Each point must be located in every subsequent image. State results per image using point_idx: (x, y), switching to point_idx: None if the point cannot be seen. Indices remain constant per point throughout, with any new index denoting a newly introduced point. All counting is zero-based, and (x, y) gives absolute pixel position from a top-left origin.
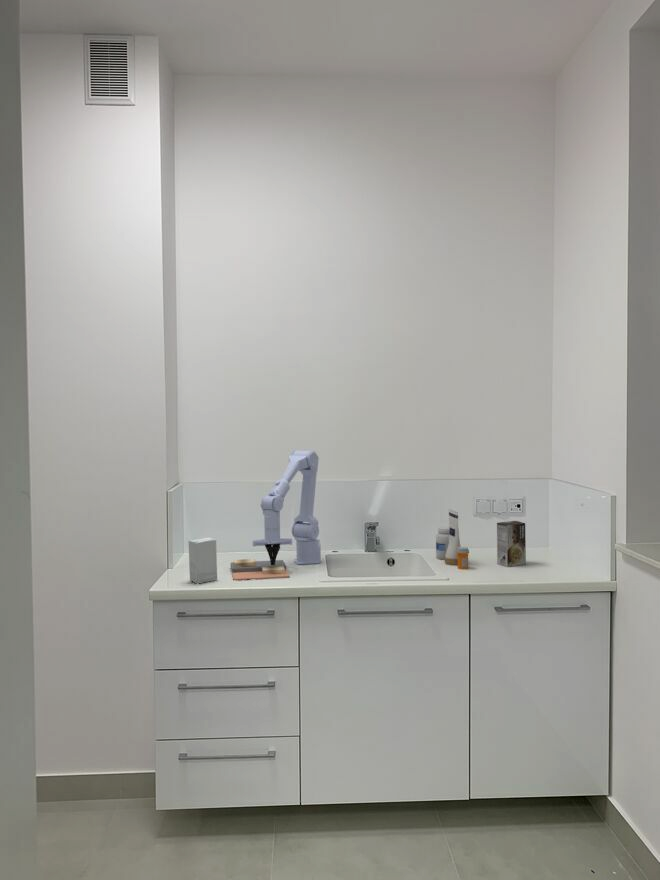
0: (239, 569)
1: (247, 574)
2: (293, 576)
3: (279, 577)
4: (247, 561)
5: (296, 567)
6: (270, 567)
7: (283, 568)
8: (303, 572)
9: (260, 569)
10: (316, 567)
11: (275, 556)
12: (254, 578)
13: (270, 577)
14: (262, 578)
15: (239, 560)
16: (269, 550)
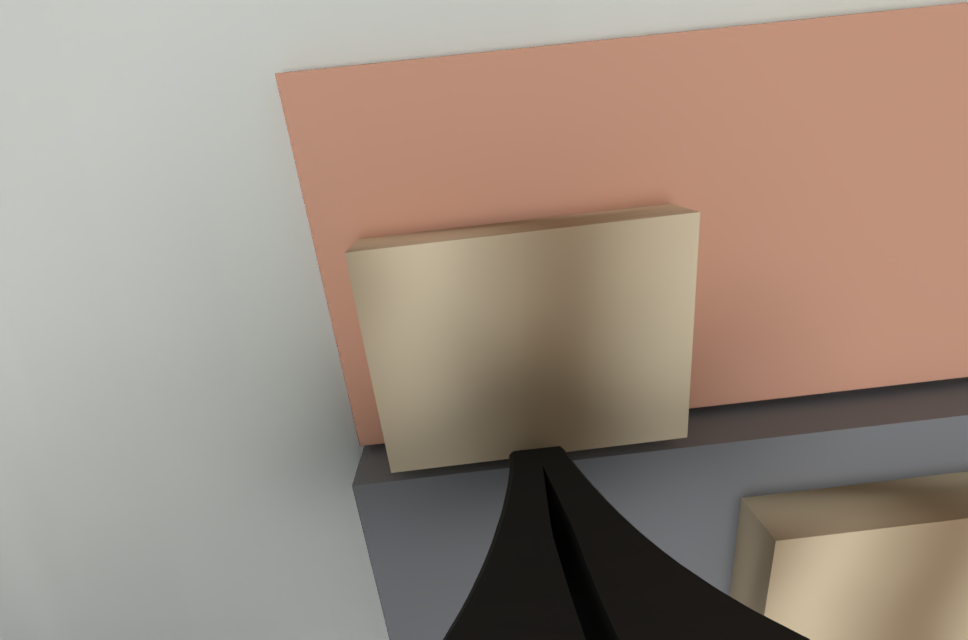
0: (957, 406)
1: (869, 258)
2: (240, 152)
3: (442, 59)
4: (878, 579)
5: (265, 589)
6: (572, 396)
7: (379, 313)
8: (137, 368)
9: None
10: (32, 575)
11: (515, 535)
12: (823, 18)
13: (581, 44)
14: (699, 35)
15: (954, 631)
16: (708, 624)
